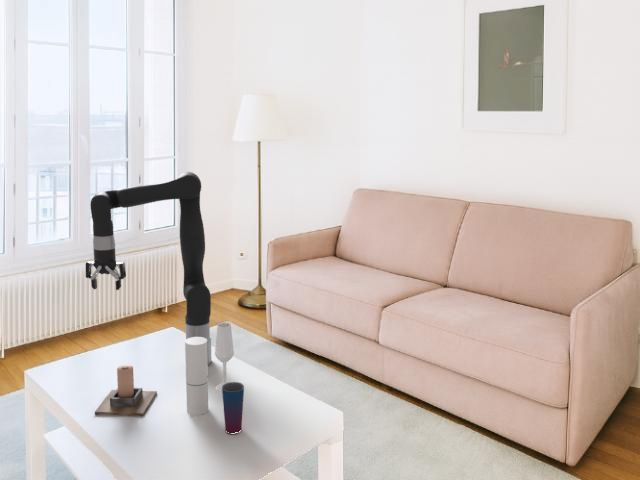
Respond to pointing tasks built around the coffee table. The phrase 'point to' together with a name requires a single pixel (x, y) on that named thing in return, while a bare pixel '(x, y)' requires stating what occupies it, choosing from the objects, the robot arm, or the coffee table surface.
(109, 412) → the holder
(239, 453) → the coffee table surface
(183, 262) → the robot arm
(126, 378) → the roll
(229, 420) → the cup
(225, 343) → the champagne flute
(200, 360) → the cylindrical container
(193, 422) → the coffee table surface
